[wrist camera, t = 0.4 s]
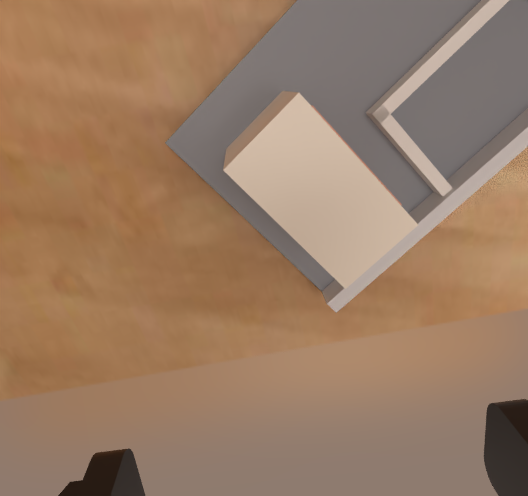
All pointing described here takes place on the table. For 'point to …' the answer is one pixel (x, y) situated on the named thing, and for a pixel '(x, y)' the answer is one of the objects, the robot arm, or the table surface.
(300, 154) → the cream box
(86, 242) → the table surface
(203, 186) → the table surface
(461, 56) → the shelf deck
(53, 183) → the table surface
